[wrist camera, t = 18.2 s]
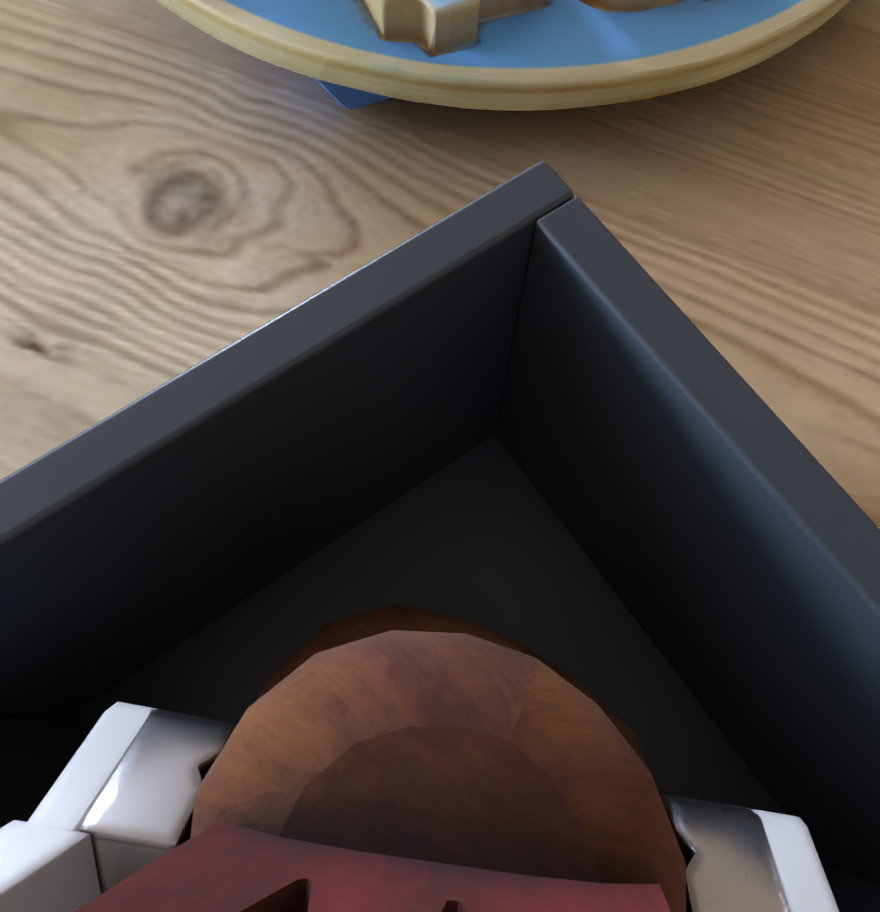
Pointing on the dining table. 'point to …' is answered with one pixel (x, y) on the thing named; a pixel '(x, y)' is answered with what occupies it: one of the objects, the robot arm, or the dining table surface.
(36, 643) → the tote
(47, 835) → the robot arm
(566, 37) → the shape sorting clock
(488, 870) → the wooden figurine
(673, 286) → the dining table surface
